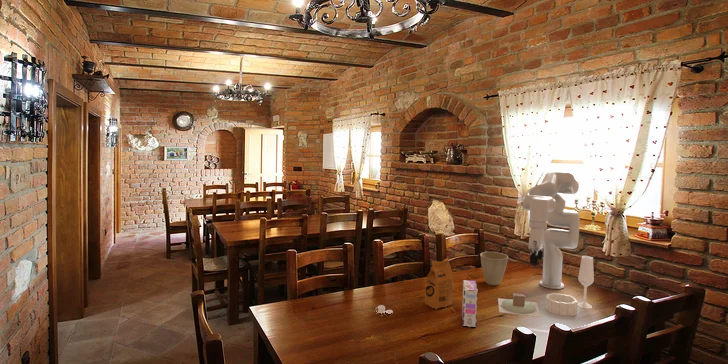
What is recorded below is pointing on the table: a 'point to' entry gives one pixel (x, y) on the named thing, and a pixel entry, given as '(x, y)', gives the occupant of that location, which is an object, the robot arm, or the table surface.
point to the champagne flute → (586, 278)
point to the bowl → (561, 304)
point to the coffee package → (439, 285)
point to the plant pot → (493, 266)
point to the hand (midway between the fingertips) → (536, 261)
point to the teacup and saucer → (383, 310)
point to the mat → (535, 313)
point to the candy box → (469, 303)
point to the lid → (518, 304)
